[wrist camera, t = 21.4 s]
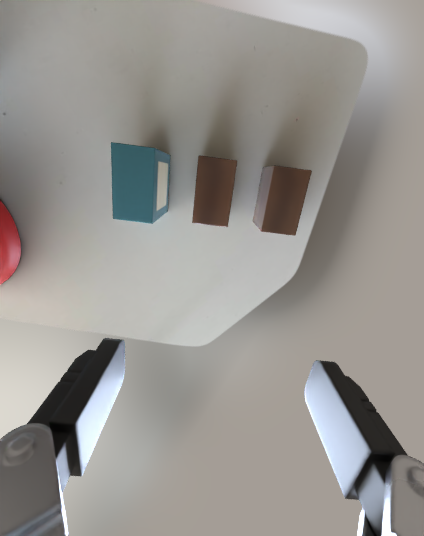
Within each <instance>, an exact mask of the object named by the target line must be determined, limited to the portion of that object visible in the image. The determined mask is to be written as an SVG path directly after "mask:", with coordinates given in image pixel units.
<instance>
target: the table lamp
mask: <svg viewBox="0 0 424 536" xmlns="http://www.w3.org/2000/svg"><path fill="white" fill-rule="evenodd" d="M20 255H21V244H20V238H19V234H18V230H17V228H16V225H15V223H14V221H13V218H12V216H11V215H10V213H9V212H8V210H7V208H6V207H5V205H4V204H3V203H2V202H1V201H0V284H2V283H3V282H5V281H6V280H8V279H9V278H10V276H11V275H12V274H13V273H14V272H15V270H16V268H17V266H18V264H19V260H20Z"/></svg>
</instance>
